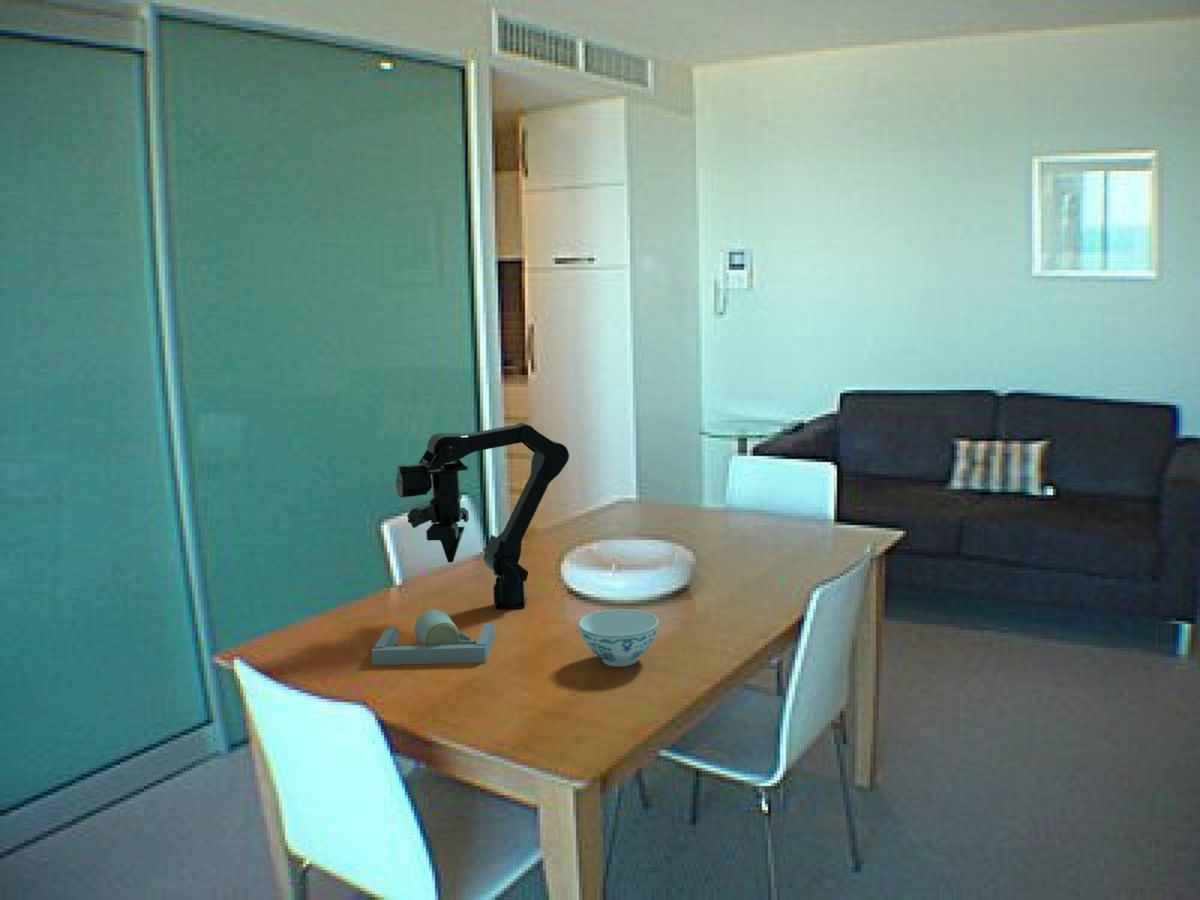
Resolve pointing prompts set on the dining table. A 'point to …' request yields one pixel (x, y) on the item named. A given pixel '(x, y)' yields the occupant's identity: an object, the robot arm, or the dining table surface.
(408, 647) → the mug dock
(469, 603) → the dining table surface
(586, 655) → the dining table surface
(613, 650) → the chinaware
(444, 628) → the ceramic mug
